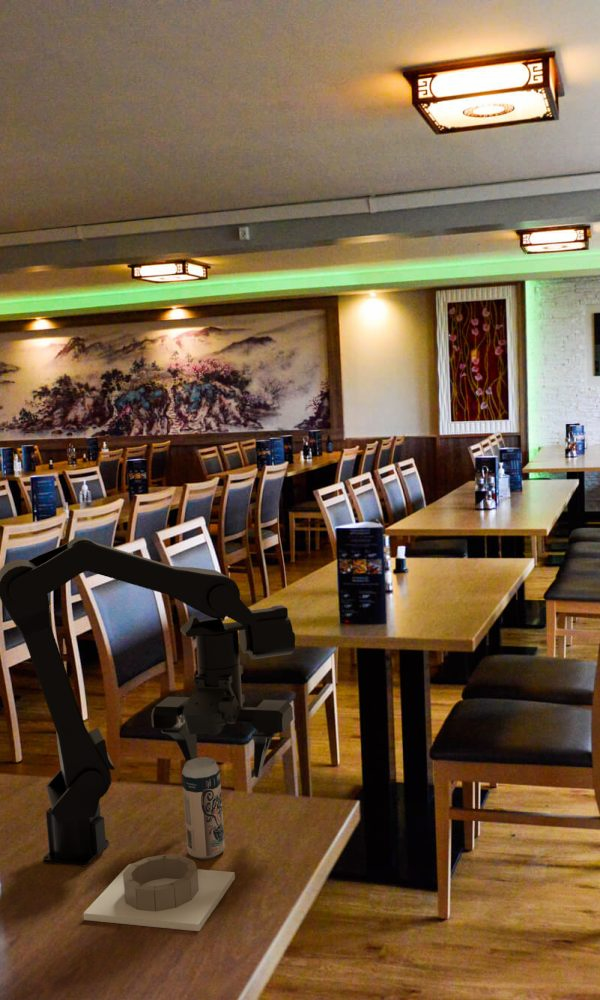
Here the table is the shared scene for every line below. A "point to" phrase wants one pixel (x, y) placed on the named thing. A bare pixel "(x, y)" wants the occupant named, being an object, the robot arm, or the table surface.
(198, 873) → the socket board
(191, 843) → the beer can
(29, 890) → the table surface
